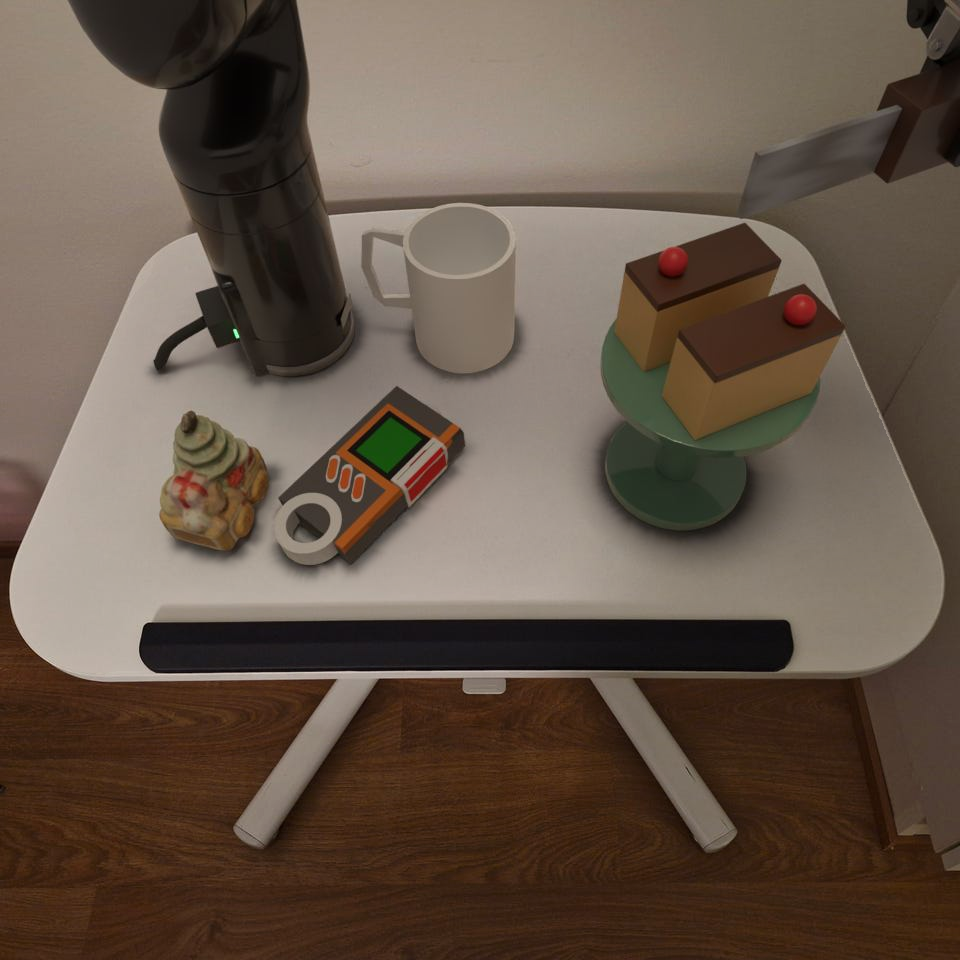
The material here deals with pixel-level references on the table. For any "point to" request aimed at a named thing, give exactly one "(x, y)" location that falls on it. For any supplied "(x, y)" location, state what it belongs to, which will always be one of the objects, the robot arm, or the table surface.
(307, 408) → the table surface
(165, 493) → the ornament
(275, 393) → the table surface
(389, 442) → the electronic device
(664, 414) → the cake stand
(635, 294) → the cake
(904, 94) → the knife
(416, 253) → the cup
